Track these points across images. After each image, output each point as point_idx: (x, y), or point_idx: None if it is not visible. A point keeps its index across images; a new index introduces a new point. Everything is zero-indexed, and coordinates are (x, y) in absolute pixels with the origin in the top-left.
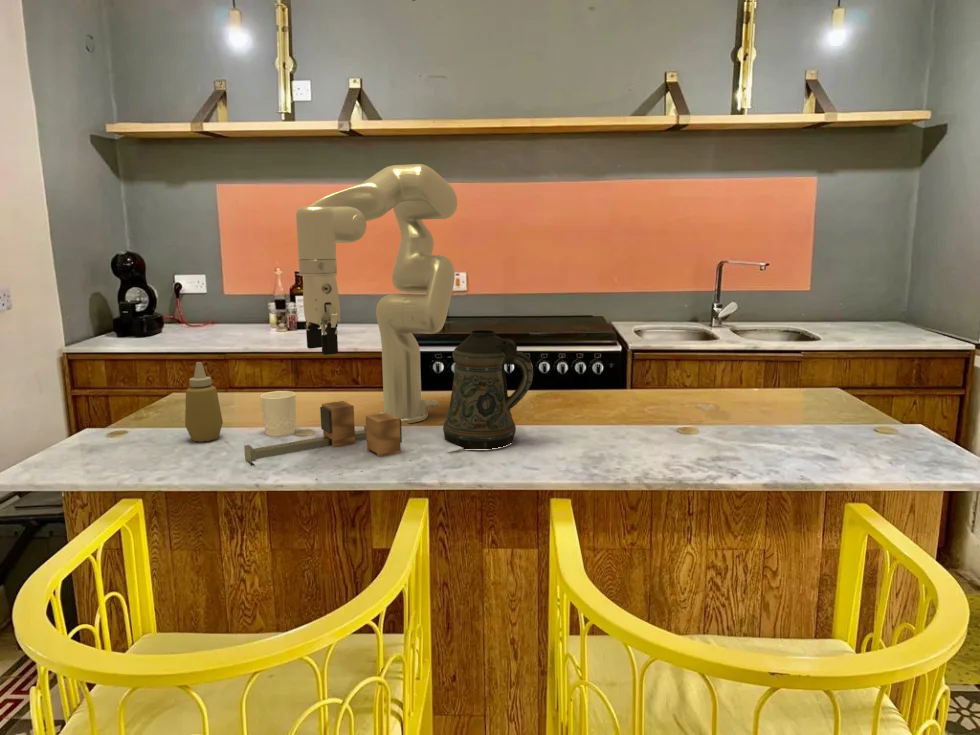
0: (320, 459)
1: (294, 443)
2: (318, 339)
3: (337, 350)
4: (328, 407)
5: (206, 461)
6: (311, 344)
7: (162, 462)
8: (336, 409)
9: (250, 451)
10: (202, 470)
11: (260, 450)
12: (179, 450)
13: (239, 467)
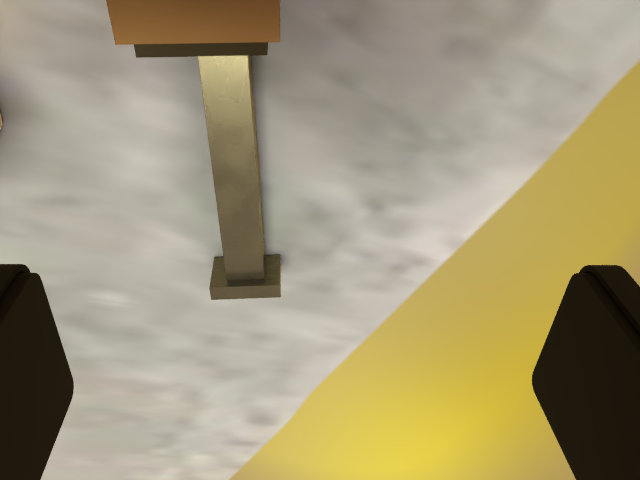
0: (345, 75)
1: (234, 152)
2: (7, 381)
3: (630, 284)
4: (226, 42)
5: (170, 341)
6: (54, 398)
7: (127, 409)
8: (278, 9)
9: (280, 294)
10: (247, 357)
11: (258, 261)
12: None
13: None
